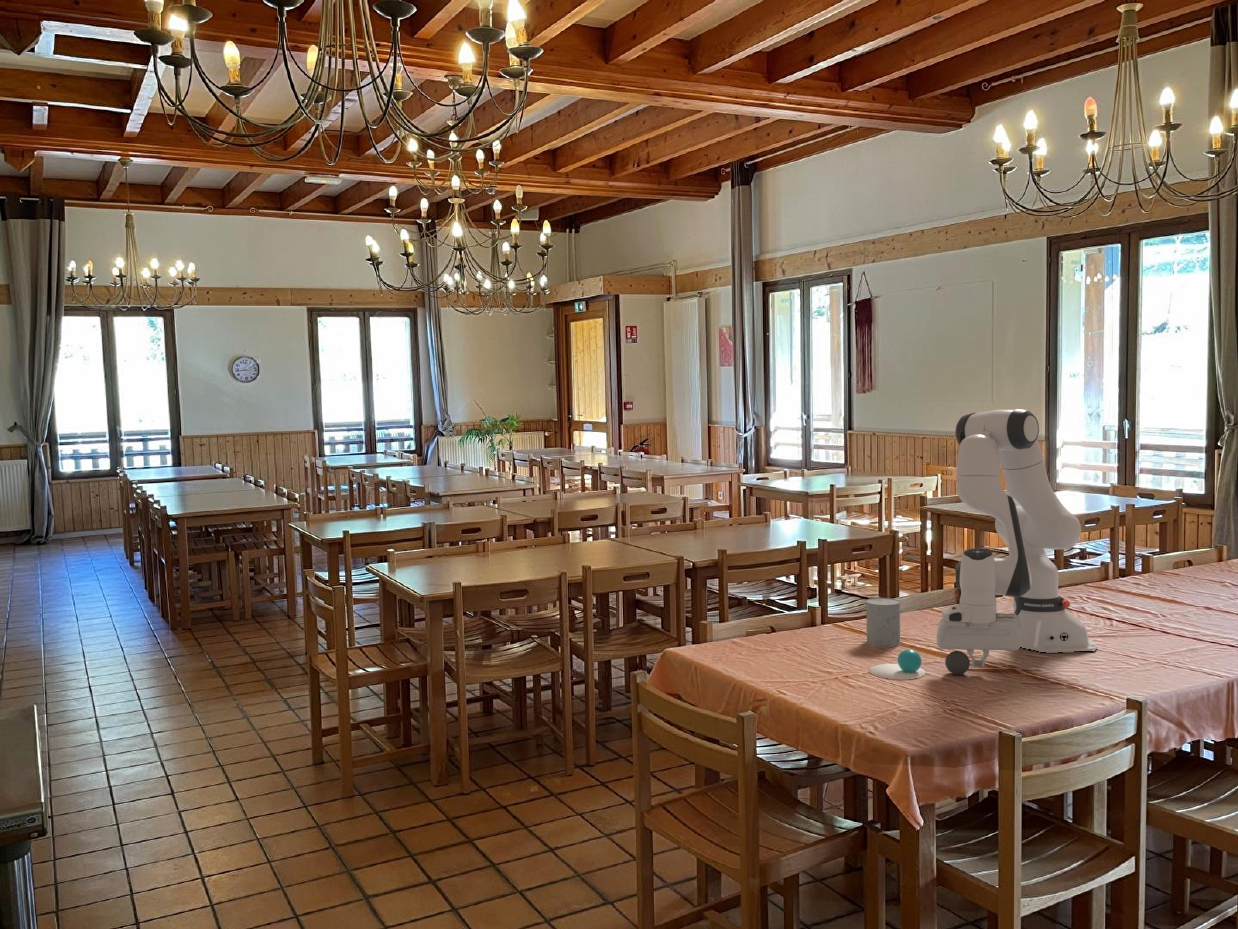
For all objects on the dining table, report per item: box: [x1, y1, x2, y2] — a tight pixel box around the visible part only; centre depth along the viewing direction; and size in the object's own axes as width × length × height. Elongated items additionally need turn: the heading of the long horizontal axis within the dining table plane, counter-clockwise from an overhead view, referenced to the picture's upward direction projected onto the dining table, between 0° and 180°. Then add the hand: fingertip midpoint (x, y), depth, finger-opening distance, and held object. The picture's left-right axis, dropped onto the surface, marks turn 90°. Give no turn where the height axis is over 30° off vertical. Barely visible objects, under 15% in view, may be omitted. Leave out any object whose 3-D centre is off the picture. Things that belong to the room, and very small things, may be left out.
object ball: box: [897, 648, 923, 673], centre depth 260 cm, size 6×6×6 cm
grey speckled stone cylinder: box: [865, 597, 901, 649], centre depth 289 cm, size 10×10×12 cm
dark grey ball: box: [944, 650, 971, 676], centre depth 257 cm, size 6×6×6 cm
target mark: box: [869, 663, 926, 681], centre depth 260 cm, size 14×14×1 cm
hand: (978, 666), depth 256 cm, fingers closed
